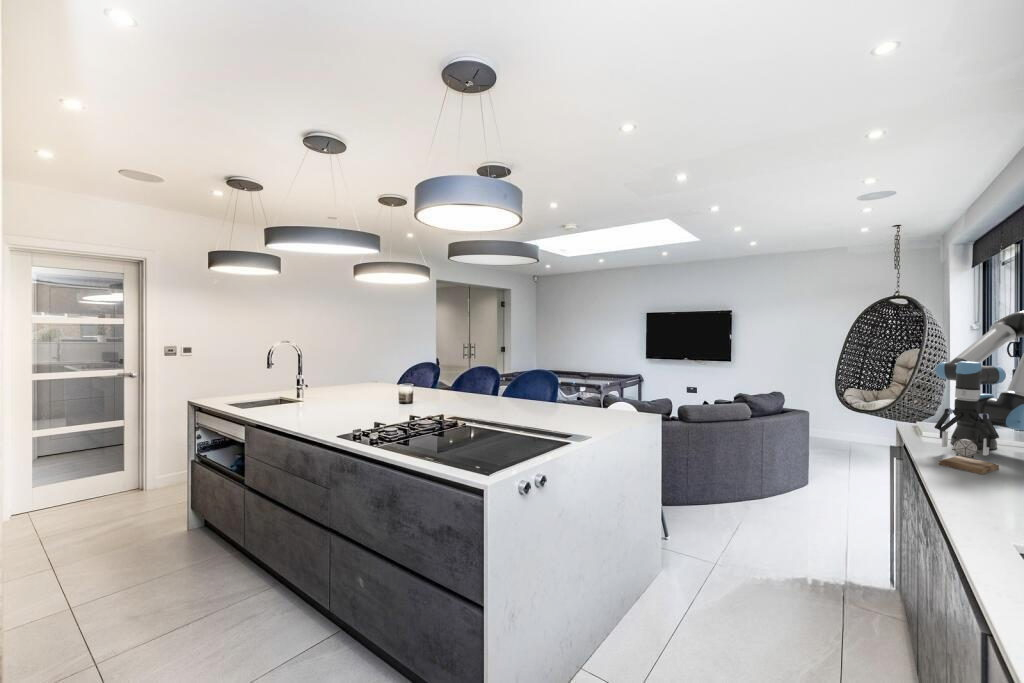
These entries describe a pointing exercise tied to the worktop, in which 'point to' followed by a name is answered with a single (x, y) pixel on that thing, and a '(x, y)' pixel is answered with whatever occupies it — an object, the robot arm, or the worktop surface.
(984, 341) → the robot arm
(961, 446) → the game die
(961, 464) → the plate
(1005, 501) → the worktop surface
